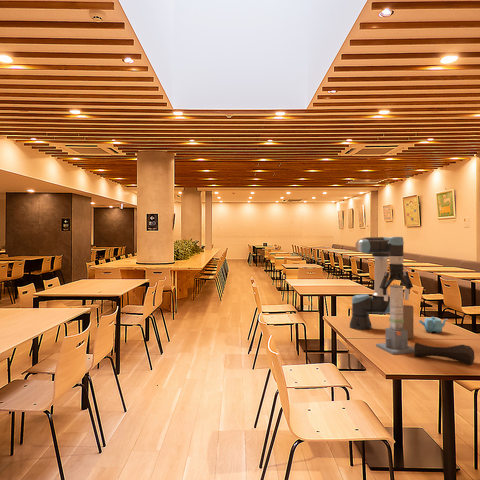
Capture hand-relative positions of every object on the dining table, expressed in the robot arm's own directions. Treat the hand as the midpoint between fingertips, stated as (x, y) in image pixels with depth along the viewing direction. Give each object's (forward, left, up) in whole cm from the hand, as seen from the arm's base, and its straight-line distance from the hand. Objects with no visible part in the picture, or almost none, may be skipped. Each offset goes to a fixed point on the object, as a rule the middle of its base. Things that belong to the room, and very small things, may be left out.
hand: (396, 300), depth 214 cm
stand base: (0, 0, -28) cm, 28 cm away
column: (0, 0, -18) cm, 18 cm away
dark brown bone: (+22, +12, -29) cm, 38 cm away
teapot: (-30, +50, -28) cm, 65 cm away
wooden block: (-22, +22, -28) cm, 42 cm away
